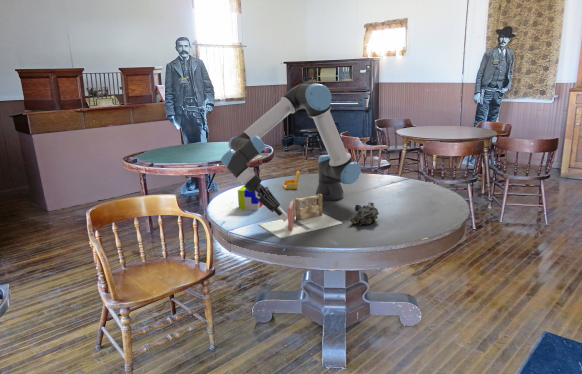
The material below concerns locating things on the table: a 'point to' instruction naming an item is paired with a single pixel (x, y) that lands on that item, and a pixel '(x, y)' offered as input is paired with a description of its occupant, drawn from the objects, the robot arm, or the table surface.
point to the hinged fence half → (291, 215)
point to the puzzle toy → (247, 200)
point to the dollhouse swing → (292, 182)
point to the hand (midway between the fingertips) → (286, 219)
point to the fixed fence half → (310, 210)
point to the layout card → (299, 225)
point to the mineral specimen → (364, 214)
